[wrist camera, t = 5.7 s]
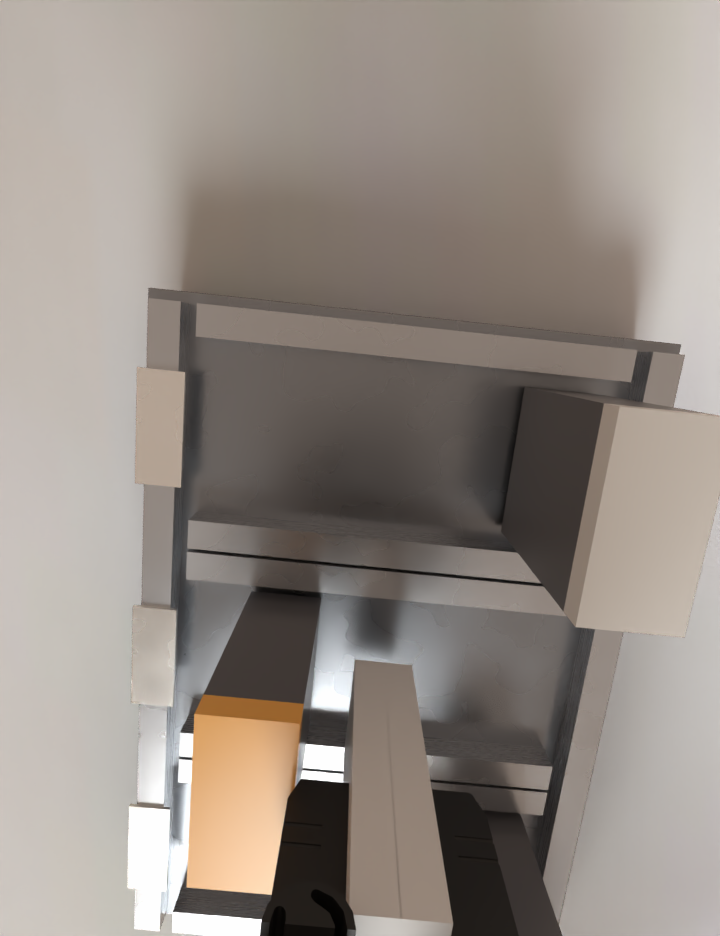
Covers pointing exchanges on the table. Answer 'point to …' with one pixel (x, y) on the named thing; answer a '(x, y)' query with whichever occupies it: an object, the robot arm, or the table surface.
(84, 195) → the table surface
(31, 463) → the table surface
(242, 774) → the block
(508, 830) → the block
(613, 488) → the block
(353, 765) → the robot arm
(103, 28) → the table surface
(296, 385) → the panel
